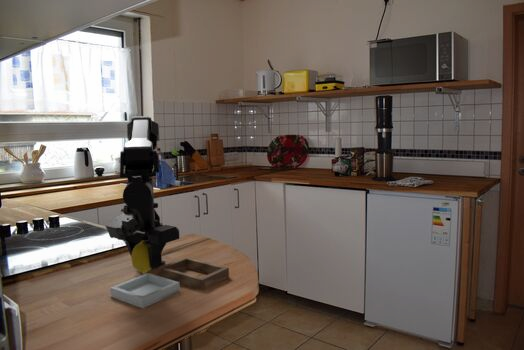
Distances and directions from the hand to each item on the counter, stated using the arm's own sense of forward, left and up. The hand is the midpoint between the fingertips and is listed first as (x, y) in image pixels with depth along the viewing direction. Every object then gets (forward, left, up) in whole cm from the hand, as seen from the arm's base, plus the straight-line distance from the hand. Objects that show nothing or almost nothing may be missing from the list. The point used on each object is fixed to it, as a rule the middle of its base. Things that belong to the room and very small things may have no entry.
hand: (144, 265), depth 102 cm
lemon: (0, 0, -2) cm, 2 cm away
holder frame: (+2, +14, -7) cm, 16 cm away
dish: (0, 0, -7) cm, 7 cm away
